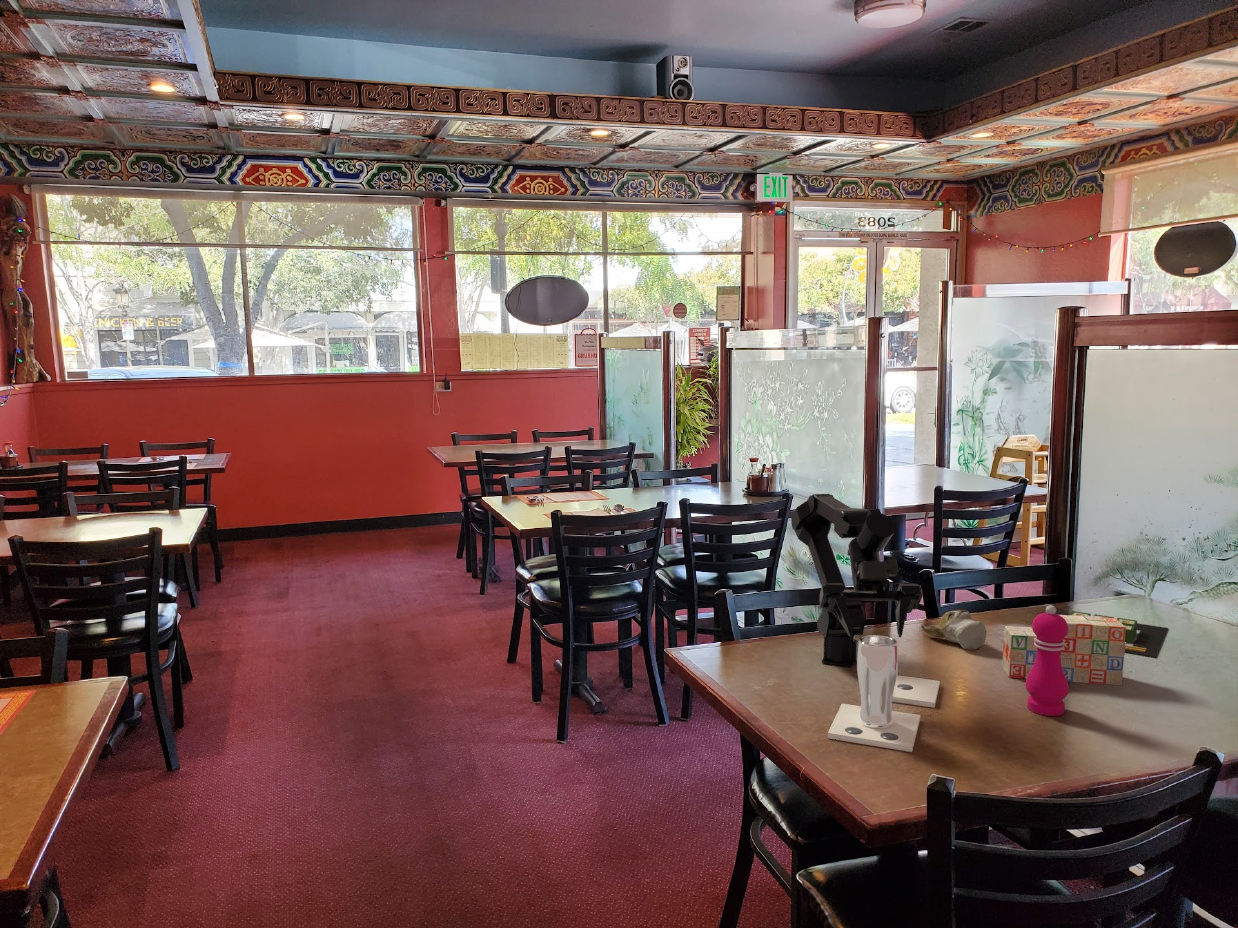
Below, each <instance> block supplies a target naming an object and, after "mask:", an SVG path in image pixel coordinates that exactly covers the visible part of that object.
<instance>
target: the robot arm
mask: <svg viewBox="0 0 1238 928" xmlns="http://www.w3.org/2000/svg"><path fill="white" fill-rule="evenodd" d="M790 521H791V522H790V523H791V524H790V525H791V527H792V530H793V531H794V533H795V535H796V537H797V539H798V540H799V541H800V542H802V544H804V545H806V547H808V550H809V553H810V555H811V556H810V557H811V558H812V561H813V565H814V567H815V571H816V574H817V576H818V580H819V582H820V585H821V588H820V592H819V607H820V608H821V611H822V612H821V613H820V616H819V617H817V618H818V619H817V621H816V626H817V628H816V629H817V631H818V632H819V634H821V635H822V636H823V658H822V659H821V663H822V664H826V665H827V664H828V665H835V666H844V667H853V666H854V664H855V663H857V654H858V645H859V639H857V636H864V630H865V626H866V622H867V614H866V610H865V608H864V607H863V603H862V602H861V601H868V602H871V601H872V602H873V601H876V602H881V601H882V602H893V601H894V603H895V606H896V608H895V621H896V629H897V634H898V637H899V638H902V636H903V634H904V633H903V632H904V627H905V623H906V617H907V614H911V613H912V612H913V610H914V611H915V610H917V609H918V608H919V606H920V603H921V601H922V599H923V596H924V594H923V589H922V587H921V586H920V585H919V584H918V583H899V584H898V588H897V590H885V587H886V588H887V586H888V580H889V577H896V576H897V575H898V573H899V567H898V565H899V564H898V560H897V558H888V557H887V558H886V559H885V560H884V561H882V560H881V558H880V553H879V552H882V551H883V550H884V549H885V547H886V546H887V544H888V543H889V541H890V540H891V538H892V537H893V535H894V534H895V532H896V524H895V521H893V520H892V518H891V517H889V515H886V514H884V513H882V511H881V510H880V508H870V509H866V508H859V507H858V508H857V507H856V508H855V507H850V506H849V505H847V504H845V503H843V502H841V501H840V500H838V499H837V498H835V497H834V495H833V494H830V493H813V494H812V495H810V494H809V497H808V498H807V500H806V501H804V502H803V503H801V504H799V505H798V506H796V508H795V509H794V511H793V513H792V515H791V519H790ZM832 524H833V530H834V532H835V533H836V534H837V535H838V536H839V538H841V539H852V540H850V542H849V543H848V549H847V556H849V561H850V571H851V580H852V586H853V589H848V588H847V586H846V583H845V582H844V578H843V576H842V573H841V570H840V568H839V565H838V562H837V559H836V557H835V553H834V550H833V548H832V546H831V543H830V540H829V533H830V530H831V527H832Z"/></svg>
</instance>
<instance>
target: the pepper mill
mask: <svg viewBox="0 0 1238 928" xmlns="http://www.w3.org/2000/svg"><path fill="white" fill-rule="evenodd" d="M1056 611H1057V608H1056V606H1054V605H1053V604H1050V605H1047V606H1046V608H1045V612H1043V613H1040V614H1038V615H1036V616H1035V617H1034V618H1033V620H1032V623H1031V627H1032V629H1033V632H1034V633H1035V635H1036V636H1037V637H1035V638H1034V640H1035V643H1034V645H1035V646H1036V650H1037V653H1036V659H1035V662H1034V664H1033V666H1032V668H1031V670H1030V672H1029V673H1028V676H1027V679H1025V685H1024V686H1025V689H1026V691H1027V693H1028V694H1029V696H1028V698H1027V705H1026V706H1027V707H1026V708H1027V709H1028V710H1029V711H1031V712H1032V713H1035V714H1038V715H1040V716H1046V717H1058V716H1062V715H1064V713H1065V708H1066V707H1065V705H1066V704H1065V701H1063V700H1064V699H1065V698H1066V697H1067V696H1068V694H1069V692H1070V691H1069V683H1068V681H1067V679H1066V676H1065V674H1064V672H1063V669H1062V665H1061V650H1063V649H1064V641H1063V638H1064V637H1066V635H1067V633H1068V624H1067V622H1066V620H1065V619H1064V618H1063V617H1061V616H1060V615H1058V614H1055V613H1056Z"/></svg>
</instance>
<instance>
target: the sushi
mask: <svg viewBox="0 0 1238 928" xmlns="http://www.w3.org/2000/svg"><path fill="white" fill-rule="evenodd" d="M1055 614H1058V615H1067V616H1068V615H1074V616H1092V613H1089V612H1081V611H1075V610H1074V611H1073V610H1071V612H1065V611H1058V610H1056V613H1055ZM1093 616H1099V617H1104V618H1115V617H1114V616H1109V615H1102V614H1096V613H1094V615H1093ZM1116 619H1117V620H1118V621H1119V622H1121V623H1122V624H1123V625H1124V626H1125V627H1126V632H1125V642H1126V643H1125V654H1127V655H1132V656H1133V655H1134V656H1138V657H1139V656H1140V657H1147V658H1151V659H1156V658H1157V657H1158V654H1159V651H1160V650H1161V646H1162V645H1163V642H1164V640H1165V637H1166V635H1167V633H1166V632H1168V630H1169V627H1166V626H1165V627H1164V626H1157V625H1152V624H1151V625H1149V624H1145V623H1138V620H1136V619H1127V618H1122V617H1117V618H1116ZM1138 631H1139V633H1138V634H1137V632H1138ZM1136 635H1137V636H1136ZM1135 637H1136V638H1135ZM1134 638H1135V641H1134ZM1163 639H1164V640H1163ZM1133 641H1134V642H1133ZM1132 643H1133V644H1132ZM1126 644H1132V645H1126Z"/></svg>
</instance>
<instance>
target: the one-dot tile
mask: <svg viewBox="0 0 1238 928" xmlns="http://www.w3.org/2000/svg"><path fill="white" fill-rule="evenodd" d="M940 684H941V683H940V681H939V680H933V679H927V678H919V677H913V676H911V677H910V676H904V675H898V674H897V679H896V684H895V689H894V693H893V698H892V703H899V704H906V705H913V706H920V707H925V708H927V707H928V708H933V709H935V708H936V705H937V700H938V699H937V698H938V695H939V690H940Z"/></svg>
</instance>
